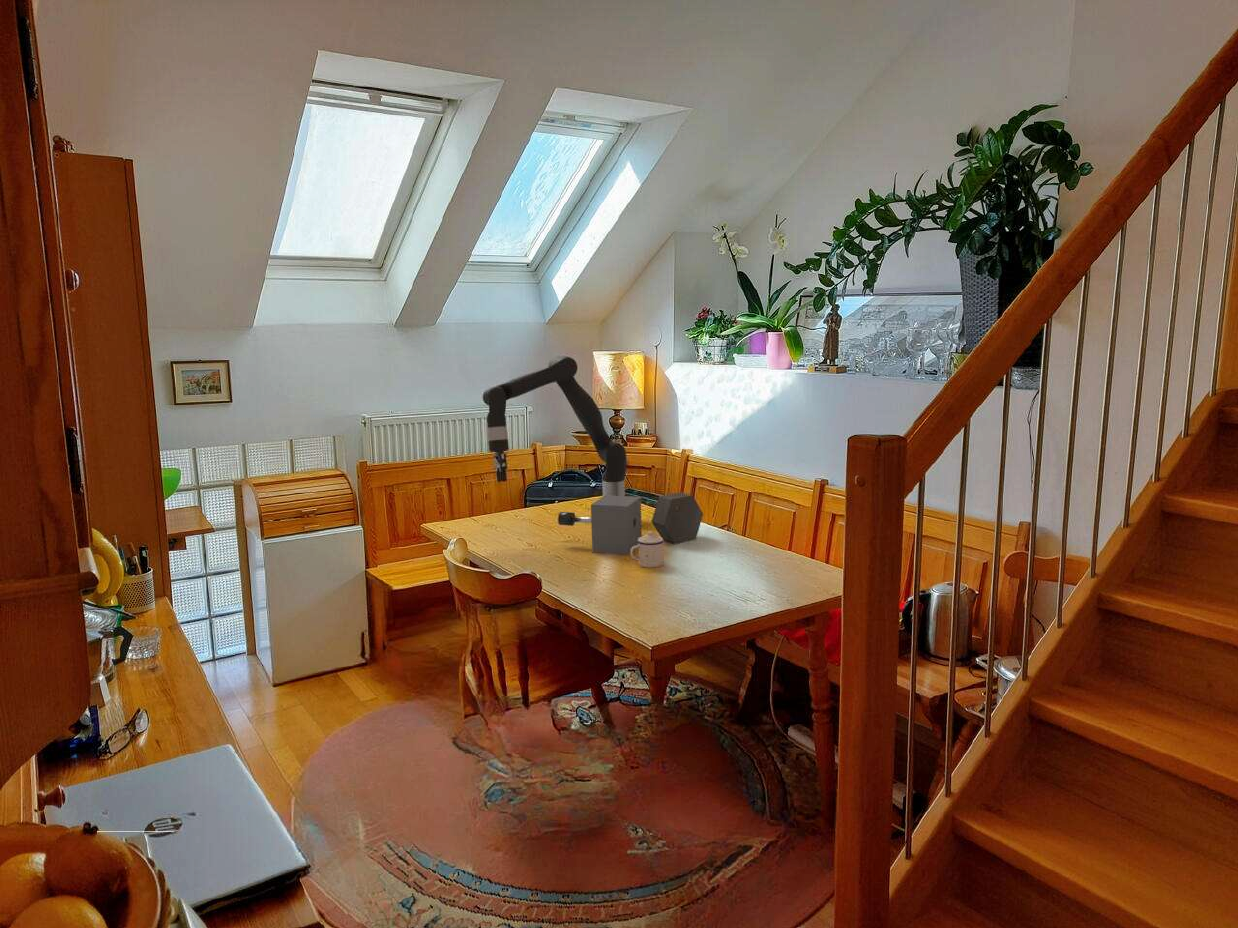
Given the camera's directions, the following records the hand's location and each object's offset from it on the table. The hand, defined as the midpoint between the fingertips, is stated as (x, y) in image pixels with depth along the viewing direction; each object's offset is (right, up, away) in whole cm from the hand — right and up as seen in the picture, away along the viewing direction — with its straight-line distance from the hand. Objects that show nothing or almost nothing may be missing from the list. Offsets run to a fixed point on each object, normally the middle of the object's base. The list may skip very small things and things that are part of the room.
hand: (502, 481), depth 328 cm
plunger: (+31, -17, -4) cm, 36 cm away
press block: (+44, -25, -7) cm, 51 cm away
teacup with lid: (+54, -29, -29) cm, 68 cm away
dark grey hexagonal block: (+67, -23, +2) cm, 71 cm away
